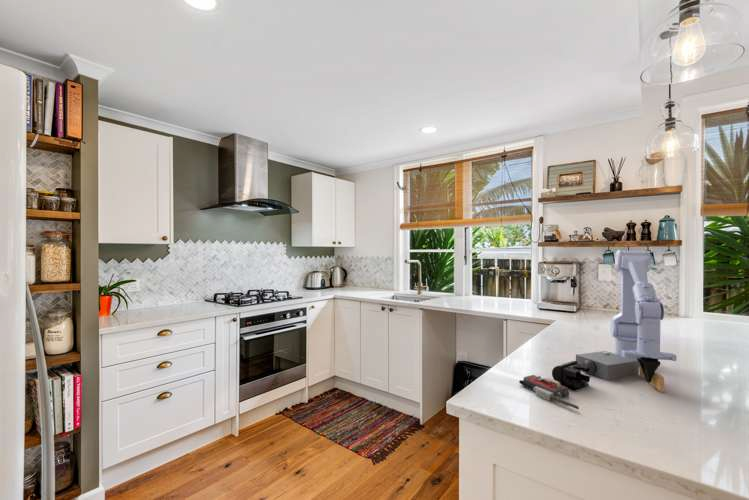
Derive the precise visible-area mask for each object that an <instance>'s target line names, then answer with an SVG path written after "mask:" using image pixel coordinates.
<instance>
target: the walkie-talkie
mask: <svg viewBox="0 0 749 500" xmlns="http://www.w3.org/2000/svg"><path fill="white" fill-rule="evenodd" d="M522 379H523V380H521V379H520V380H519V382H518V383H519V384H520V385H522V386H523V388H525V389H528V390H530V391H532V392H534V393H535V395H536V396H537V397H539V398H542V399H544V400H546V401H549V402H550V401H555V402H558V403H560V404H562V405H564V406H565V407H566V406H567V407H572V408H574V409H577V410H579V409H580V408H579V406H578V405H576V404H574V403H571V402H570V401H566V400H564V398H566V399H567V398H568V397H570V392H569V391H570V390H568V388H567V387H564V386H562V385H561V383H560V382H559V381H556V380H554V379H553V378H551V377H544V378H543V377H542V376H541V375H535V374H531V375H526V376H524V377H523V378H522Z"/></svg>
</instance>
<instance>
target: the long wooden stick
mask: <svg viewBox="0 0 749 500" xmlns="http://www.w3.org/2000/svg"><path fill="white" fill-rule="evenodd" d="M639 376H640V377H641V378H642V379H644V380H645V378H644V374H643V371H642V368H641V366H640V365H639ZM648 383H649V384H650V385H651V386H652V387H653V388H655V389H656V390H658V392H660V393H661V392H662V393H664V391H665V376H663V375H662V374H661V373H659V372H658V371H657V370H656V371H655V373H654V375H653V377H652V380H651V383H650V382H648Z"/></svg>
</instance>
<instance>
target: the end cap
mask: <svg viewBox="0 0 749 500" xmlns="http://www.w3.org/2000/svg"><path fill="white" fill-rule="evenodd" d="M581 371H582V372H584V371H586V372H590V367H587V366H584V365H580V364H578V362H577V361H576V360H571V361H568V362H564V363H561V364H558V365H556V366H554V367H553V368H552V371H551V375H552V379H553V380H556V381H559V382H560V383H561V385H562V386H564V387H567V388H568V391H572V392H578V391H580V390H582V389H584V388H587V387H590V384H589V383H590V379H591V377H590V375H587V374H584V373H582V372H581ZM586 372H585V373H586Z"/></svg>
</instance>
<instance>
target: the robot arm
mask: <svg viewBox="0 0 749 500" xmlns="http://www.w3.org/2000/svg"><path fill="white" fill-rule="evenodd" d="M651 257H652V255H651V253H650V251H649V250H647V249H646V250H622V249H621V250H620V249H618V250H617V251H615V256H614V269H615V271H618V272H619V273H620V307H619V308H620V311H619V313H617V314H615V315H613V316H612V317H611V320H610V321H611V322H610V334H611V336H612V338H614V339H615V343H614V344H615V345H614V347H615V348H614V349H615V350H614V354H617V355H621V356H622V357H624V358H631V359H634V360H638V362H639V367H640V366H641V368H642V371H643V374H644V378H645V379H644V378H643V379H644V381H646V382H647V383H649V382H650V383H651V380H652V377H653V375H654V373H655V371H656V372H657V369H658V368H659V367H660V366H661V361H662V360H663V361H673V362H677V354H675V353H672V352H664V351H663V352H662V351H661V321H662V320H664V317H665V307H664V304H663V302H662V301H661V300H660V298H658V297H657V294H656V290H655V287H654V285H653V284H652V283H650V282H649V281H648V273H647V270H648V268H649V266H650V265H651V263H652V258H651ZM660 360H661V361H660ZM650 383H649V384H650Z"/></svg>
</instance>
